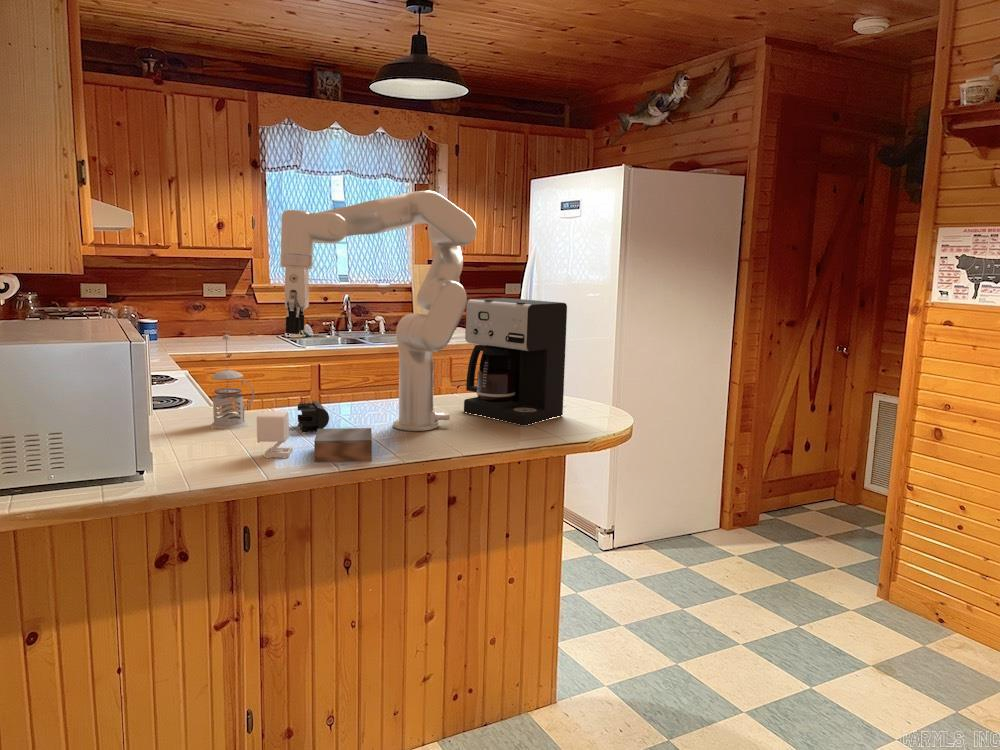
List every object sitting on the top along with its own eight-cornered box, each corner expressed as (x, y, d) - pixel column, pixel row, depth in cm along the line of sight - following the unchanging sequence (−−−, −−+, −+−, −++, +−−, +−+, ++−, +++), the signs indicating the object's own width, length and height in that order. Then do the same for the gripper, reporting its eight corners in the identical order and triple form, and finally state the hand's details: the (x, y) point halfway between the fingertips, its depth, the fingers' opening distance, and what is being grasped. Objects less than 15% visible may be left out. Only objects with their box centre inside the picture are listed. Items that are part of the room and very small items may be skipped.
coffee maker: (452, 411, 232) (454, 297, 226) (493, 402, 247) (496, 296, 241) (523, 426, 214) (527, 303, 208) (563, 416, 229) (568, 301, 223)
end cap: (329, 431, 203) (329, 407, 201) (302, 433, 200) (302, 408, 199) (323, 423, 212) (323, 400, 211) (297, 425, 209) (297, 401, 208)
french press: (208, 422, 209) (205, 333, 205) (252, 419, 213) (250, 332, 209) (211, 430, 200) (207, 337, 196) (256, 427, 205) (254, 336, 201)
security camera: (263, 451, 181) (262, 410, 179) (293, 451, 182) (292, 411, 180) (257, 458, 175) (256, 416, 173) (287, 458, 175) (287, 416, 174)
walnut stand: (371, 447, 187) (371, 427, 186) (371, 460, 175) (371, 439, 175) (317, 448, 185) (317, 428, 184) (314, 462, 173) (314, 440, 172)
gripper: (308, 263, 175) (306, 336, 178) (315, 263, 192) (314, 329, 195) (275, 261, 174) (274, 334, 176) (285, 261, 191) (284, 328, 193)
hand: (295, 331), depth 186 cm, fingers open, 9 cm apart
